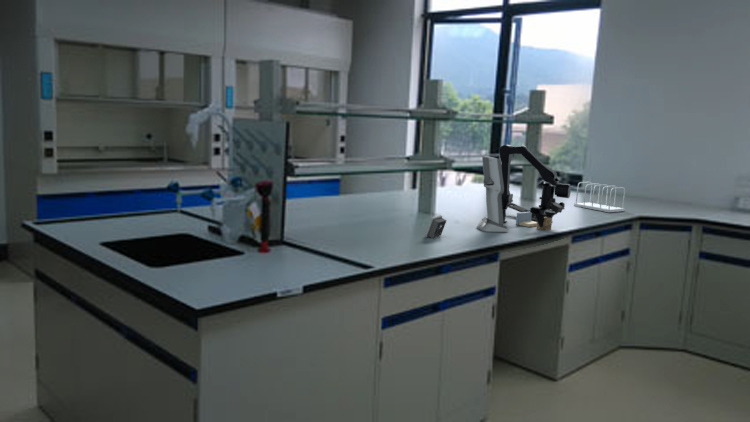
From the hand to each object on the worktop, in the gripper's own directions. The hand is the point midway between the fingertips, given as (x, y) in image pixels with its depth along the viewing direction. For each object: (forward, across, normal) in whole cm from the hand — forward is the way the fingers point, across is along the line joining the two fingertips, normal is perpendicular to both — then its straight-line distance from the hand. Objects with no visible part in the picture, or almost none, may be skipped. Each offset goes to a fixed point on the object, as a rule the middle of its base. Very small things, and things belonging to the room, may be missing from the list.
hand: (544, 226), depth 298 cm
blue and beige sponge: (+1, +1, +10) cm, 10 cm away
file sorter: (+2, +96, +25) cm, 100 cm away
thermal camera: (+1, -28, +10) cm, 30 cm away
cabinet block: (+1, 0, 0) cm, 1 cm away
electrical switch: (+2, -66, +11) cm, 67 cm away
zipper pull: (+2, +14, +23) cm, 27 cm away
